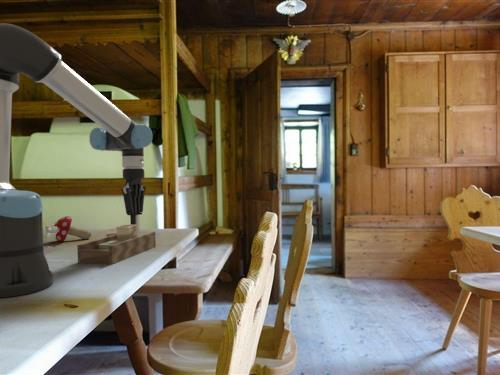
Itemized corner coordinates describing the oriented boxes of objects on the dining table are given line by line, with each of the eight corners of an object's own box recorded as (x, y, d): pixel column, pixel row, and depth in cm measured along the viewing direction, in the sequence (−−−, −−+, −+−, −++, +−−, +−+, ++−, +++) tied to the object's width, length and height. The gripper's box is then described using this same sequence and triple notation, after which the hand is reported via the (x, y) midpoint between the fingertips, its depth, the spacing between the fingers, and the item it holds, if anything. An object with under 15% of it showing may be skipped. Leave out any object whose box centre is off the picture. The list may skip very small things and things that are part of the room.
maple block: (129, 241, 127) (129, 227, 127) (116, 241, 128) (116, 226, 128) (137, 238, 132) (137, 225, 132) (125, 238, 133) (124, 224, 133)
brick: (128, 243, 148) (127, 231, 148) (105, 244, 146) (105, 233, 145) (129, 237, 164) (129, 226, 164) (109, 238, 161) (109, 227, 161)
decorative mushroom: (96, 218, 162) (59, 208, 155) (94, 234, 153) (55, 224, 146) (87, 236, 166) (51, 227, 159) (85, 253, 157) (46, 245, 150)
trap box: (112, 264, 111) (111, 246, 111) (78, 262, 114) (77, 245, 114) (155, 246, 138) (155, 232, 137) (126, 246, 140) (126, 231, 140)
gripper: (133, 167, 127) (135, 235, 128) (151, 168, 140) (153, 230, 141) (113, 168, 129) (115, 235, 130) (133, 168, 142) (135, 230, 143)
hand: (135, 232), depth 135 cm, fingers closed
